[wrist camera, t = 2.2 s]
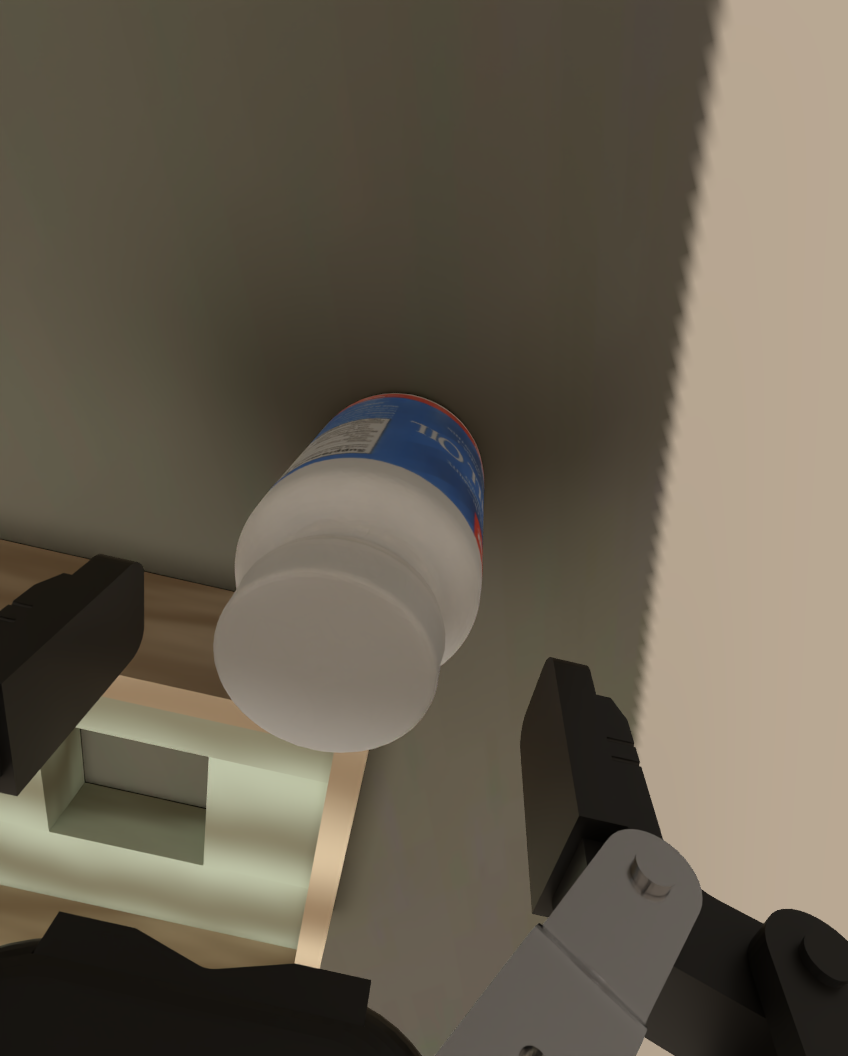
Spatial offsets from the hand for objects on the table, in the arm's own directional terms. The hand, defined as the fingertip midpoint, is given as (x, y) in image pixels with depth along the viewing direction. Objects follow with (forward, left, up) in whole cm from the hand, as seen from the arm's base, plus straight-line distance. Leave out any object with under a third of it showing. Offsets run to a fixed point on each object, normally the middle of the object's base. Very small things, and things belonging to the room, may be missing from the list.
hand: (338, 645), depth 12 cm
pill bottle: (0, 0, -9) cm, 9 cm away
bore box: (+15, -8, -8) cm, 19 cm away
